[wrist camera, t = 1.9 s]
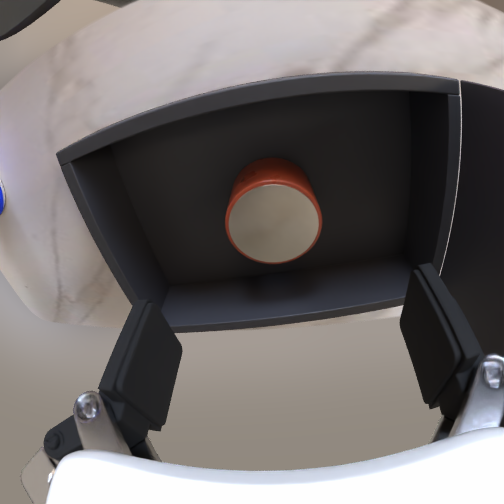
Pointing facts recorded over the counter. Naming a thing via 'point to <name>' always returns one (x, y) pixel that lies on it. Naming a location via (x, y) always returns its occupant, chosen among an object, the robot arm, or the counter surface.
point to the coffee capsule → (273, 212)
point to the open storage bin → (304, 156)
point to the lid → (479, 218)
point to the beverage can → (2, 197)
